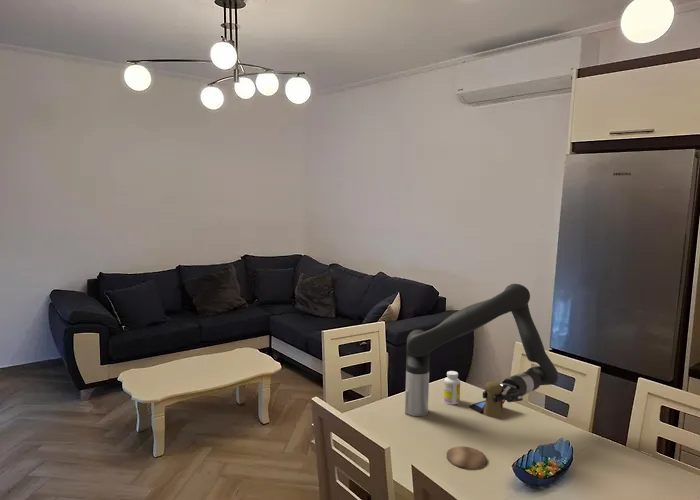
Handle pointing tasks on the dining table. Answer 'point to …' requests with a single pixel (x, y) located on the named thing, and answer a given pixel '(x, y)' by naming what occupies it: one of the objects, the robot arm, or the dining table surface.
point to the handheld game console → (481, 406)
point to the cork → (490, 406)
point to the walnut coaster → (466, 457)
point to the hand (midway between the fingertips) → (489, 397)
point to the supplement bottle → (452, 388)
